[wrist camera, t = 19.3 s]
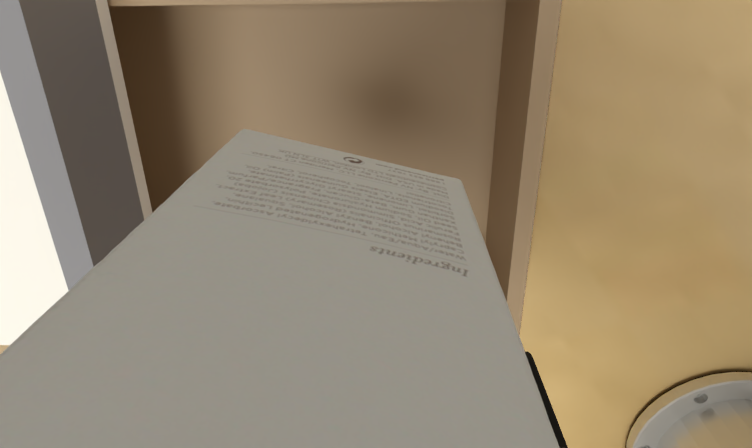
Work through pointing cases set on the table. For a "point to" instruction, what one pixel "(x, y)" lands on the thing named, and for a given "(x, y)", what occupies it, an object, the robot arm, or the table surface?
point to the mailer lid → (61, 153)
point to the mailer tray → (353, 93)
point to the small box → (283, 319)
